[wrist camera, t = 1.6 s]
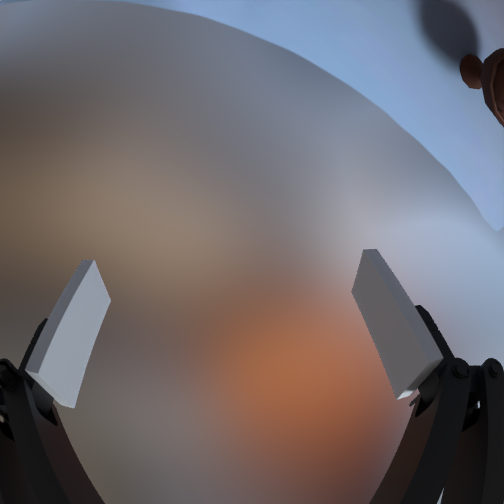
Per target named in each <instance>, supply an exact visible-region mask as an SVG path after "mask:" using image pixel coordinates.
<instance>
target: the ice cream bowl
mask: <svg viewBox="0 0 504 504" xmlns="http://www.w3.org/2000/svg"><path fill="white" fill-rule="evenodd" d="M460 72H461V75H462V79H463V81H464V82H465V83H466V84H467V86H468V87H469V88H473V89H480V88H481V87H482V90H483V95H484V100H485V103H486V105H487V106H488V108H489V109H490V110H491V112H492V113H493V114H494V116H495V117H496V118H497V120H498V121H499V123H500V124H501V125H502V126H503V127H504V48H500V49H498V50H496V51H494V52H493V53H492V54H491V55H490V56H488V57H487V58H486V59H485V60H484V63H482V62H481V60H480V59H479V58H478V57H477V56H473V55H469V54H468V55H467V56H465V57H464V58H463V59H462V61H461V66H460Z"/></svg>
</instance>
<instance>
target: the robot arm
mask: <svg viewBox="0 0 504 504" xmlns="http://www.w3.org/2000/svg"><path fill="white" fill-rule="evenodd" d="M352 294H353V296H354V298H355V300H356V303H357V305H358V307H359V309H360V311H361V314H362V315H363V318H364V320H365V322H366V325H367V327H368V329H369V332H370V334H371V336H372V338H373V341H374V343H375V346H376V348H377V350H378V353H379V355H380V358H381V360H382V363H383V365H384V367H385V370H386V373H387V375H388V378H389V380H390V383H391V386H392V389H393V391H394V394H395V397H396V399H400V398H403V397H406V396H409V395H411V394H412V393H413V392H414V391H415V390H416V389H417V388H418V390H419V392H420V394H419V395H418V396H417V397H416V398H415V399H414V400H413V401H412V402H411V403H410V405H409V406H412V405H413V404H414V403H415V406H414V409H413V411H412V414H411V417H410V420H409V423H408V425H407V428H406V430H405V433H404V436H403V438H402V440H401V443H400V445H399V447H398V449H397V452H396V454H395V456H394V458H393V460H392V462H391V464H390V467H389V469H388V471H387V473H386V474H385V477H384V478H383V480H382V482H381V484H380V486H379V488H378V489H377V491H376V493H375V495H374V496H373V498H372V500H371V502H370V503H369V504H437V502H438V500H439V497H440V495H441V493H442V490H443V488H444V490H443V495H442V499H441V504H504V370H503V367H502V365H501V364H500V363H499V362H498V361H497V360H496V359H494V358H489V359H487V360H486V361H485V362H484V363H483V364H482V365H481V366H469V365H468V364H467V363H466V361H464V360H462V359H461V358H455V357H454V355H453V354H452V352H451V350H450V348H449V346H448V345H447V343H446V341H445V339H444V338H443V336H442V334H441V333H440V331H439V330H438V327H437V325H436V324H435V323H434V320H433V319H432V317H431V316H430V314H429V312H428V311H426V310H425V309H424V308H423V307H422V306H421V305H417V306H414V305H413V303H412V301H411V300H410V298H409V296H408V295H407V293H406V292H405V290H404V289H403V287H402V286H401V284H400V283H399V281H398V279H397V278H396V276H395V275H394V274H393V272H392V271H391V269H390V268H389V266H388V265H387V263H386V262H385V260H384V259H383V257H382V256H381V255H380V253H379V252H378V250H377V249H368V250H363V253H362V257H361V261H360V264H359V268H358V271H357V275H356V278H355V282H354V285H353V288H352ZM110 301H111V300H110V297H109V296H108V293H107V291H106V288H105V286H104V283H103V281H102V279H101V276H100V273H99V271H98V268H97V266H96V263H95V261H94V260H82V262H81V263H80V265H79V266H78V268H77V270H76V271H75V273H74V274H73V276H72V278H71V279H70V281H69V283H68V284H67V286H66V288H65V289H64V291H63V293H62V295H61V296H60V298H59V300H58V302H57V304H56V306H55V307H54V309H53V311H52V313H51V315H50V317H49V318H48V319H44V321H43V322H42V323H41V324H40V325H39V326H38V328H37V330H36V332H35V334H34V337H33V338H32V340H31V344H30V345H29V346H28V349H27V351H26V353H25V355H24V358H23V360H22V362H21V365H20V367H19V369H18V370H17V369H16V368H15V367H14V365H13V364H12V363H11V362H10V361H9V360H8V359H4V358H3V359H0V415H1V416H2V417H3V418H4V421H3V423H2V422H1V421H0V504H105V503H104V502H103V500H102V499H101V497H100V496H99V494H98V492H97V491H96V489H95V488H94V486H93V484H92V483H91V481H90V479H89V478H88V476H87V474H86V472H85V471H84V469H83V467H82V465H81V463H80V461H79V459H78V457H77V455H76V453H75V451H74V449H73V447H72V445H71V443H70V441H69V439H68V436H67V434H66V432H65V429H64V427H63V425H62V422H61V420H60V417H59V415H58V412H57V409H56V407H55V406H54V404H53V400H54V399H55V400H56V401H57V402H58V403H60V404H61V405H64V406H67V407H71V408H74V407H75V404H76V400H77V396H78V393H79V389H80V386H81V382H82V379H83V376H84V372H85V369H86V366H87V363H88V360H89V357H90V354H91V351H92V348H93V345H94V343H95V340H96V337H97V334H98V331H99V329H100V326H101V324H102V321H103V319H104V316H105V313H106V311H107V308H108V306H109V304H110ZM479 401H480V408H478V402H479Z"/></svg>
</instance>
